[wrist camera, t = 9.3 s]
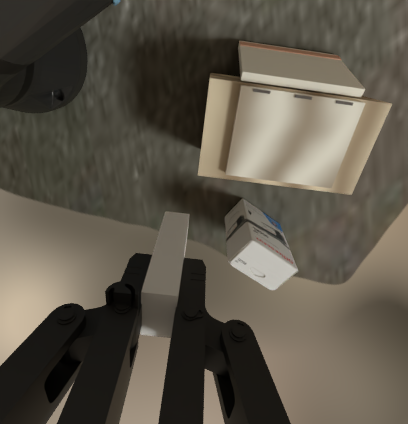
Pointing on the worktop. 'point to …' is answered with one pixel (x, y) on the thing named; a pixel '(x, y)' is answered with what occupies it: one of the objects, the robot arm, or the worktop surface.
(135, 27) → the worktop surface
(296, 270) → the ink box
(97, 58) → the worktop surface
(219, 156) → the ticket block
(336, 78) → the stub
